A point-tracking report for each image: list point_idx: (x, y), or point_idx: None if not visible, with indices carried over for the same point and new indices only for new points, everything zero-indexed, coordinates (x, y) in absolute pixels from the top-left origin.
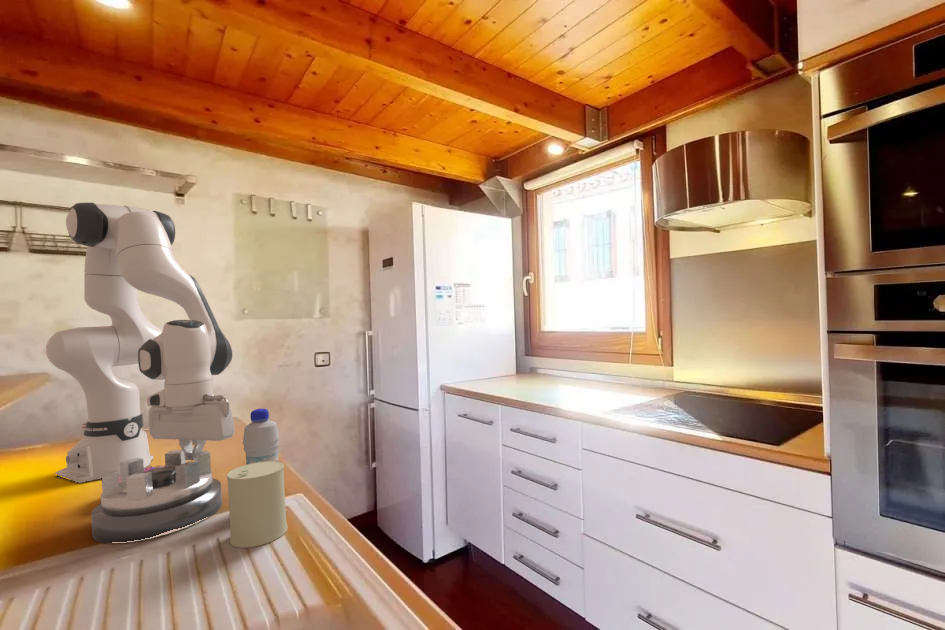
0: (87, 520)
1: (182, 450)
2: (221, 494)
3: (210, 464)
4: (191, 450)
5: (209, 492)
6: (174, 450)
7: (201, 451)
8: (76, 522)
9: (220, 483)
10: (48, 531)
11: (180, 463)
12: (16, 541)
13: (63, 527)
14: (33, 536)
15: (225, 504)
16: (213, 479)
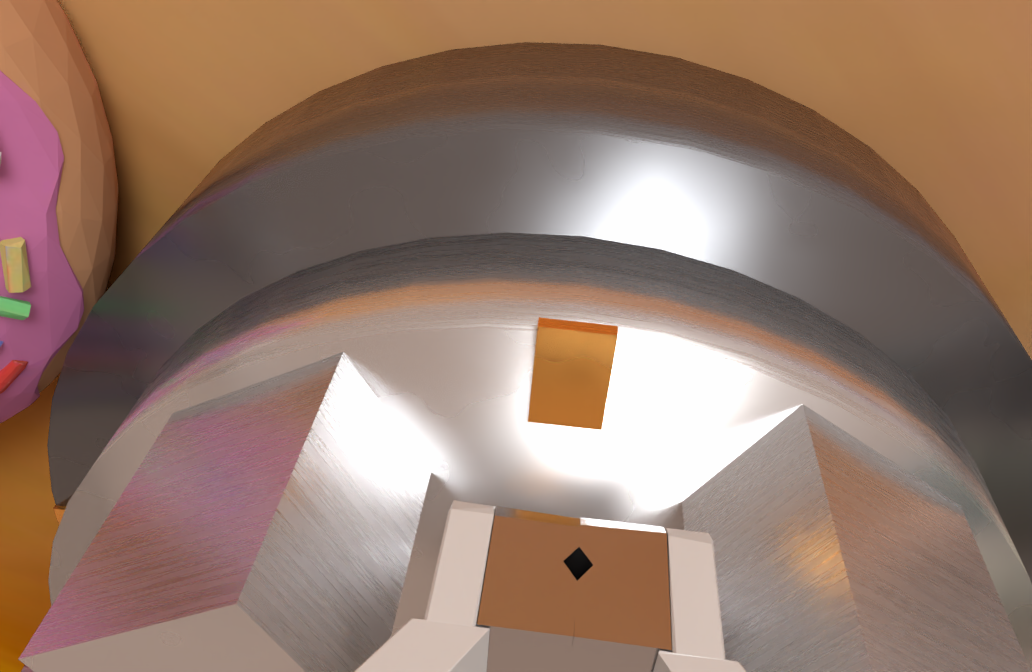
0: (43, 506)
1: (273, 659)
2: (988, 292)
3: (1000, 604)
4: (481, 663)
5: (1008, 527)
6: (85, 646)
7: (722, 645)
8: (10, 526)
9: (994, 321)
10: (11, 603)
11: (403, 566)
12: (6, 668)
13: (26, 571)
14: (14, 637)
15: (1000, 240)
16: (782, 203)
